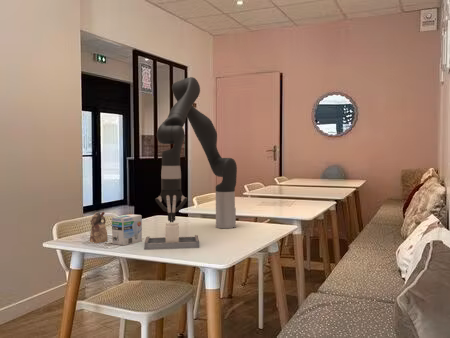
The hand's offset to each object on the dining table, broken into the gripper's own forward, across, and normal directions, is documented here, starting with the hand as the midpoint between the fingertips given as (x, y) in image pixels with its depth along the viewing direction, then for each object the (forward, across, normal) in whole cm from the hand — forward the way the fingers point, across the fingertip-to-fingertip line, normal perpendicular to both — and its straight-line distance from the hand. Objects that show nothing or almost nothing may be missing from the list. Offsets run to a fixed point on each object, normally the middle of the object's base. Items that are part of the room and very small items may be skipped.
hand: (171, 222), depth 168 cm
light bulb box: (+9, +18, -8) cm, 22 cm away
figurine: (+9, +30, -12) cm, 34 cm away
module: (+9, 0, 0) cm, 9 cm away
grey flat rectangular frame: (+9, 0, 0) cm, 9 cm away
